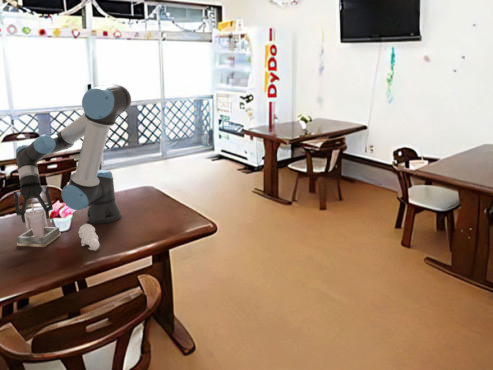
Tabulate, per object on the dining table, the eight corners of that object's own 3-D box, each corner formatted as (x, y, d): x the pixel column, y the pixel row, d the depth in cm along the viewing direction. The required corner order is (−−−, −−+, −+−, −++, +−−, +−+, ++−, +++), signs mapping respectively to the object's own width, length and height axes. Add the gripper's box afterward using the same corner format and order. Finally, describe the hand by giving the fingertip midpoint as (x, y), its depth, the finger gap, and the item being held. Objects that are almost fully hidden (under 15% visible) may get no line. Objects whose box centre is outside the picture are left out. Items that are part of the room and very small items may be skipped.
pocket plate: (61, 234, 180) (59, 227, 179) (44, 246, 169) (43, 238, 168) (35, 233, 182) (33, 226, 181) (17, 245, 171) (15, 237, 170)
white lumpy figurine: (92, 220, 172) (103, 232, 163) (94, 238, 175) (104, 251, 166) (76, 224, 168) (86, 236, 159) (78, 243, 171) (88, 256, 163)
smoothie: (34, 232, 178) (28, 201, 174) (49, 231, 178) (44, 200, 174) (27, 238, 172) (21, 206, 167) (44, 238, 172) (38, 206, 168)
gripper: (54, 179, 187) (63, 226, 178) (5, 186, 178) (11, 235, 169) (53, 171, 180) (62, 219, 171) (2, 177, 172) (9, 228, 163)
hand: (37, 227), depth 170 cm, fingers closed on smoothie, 6 cm apart
